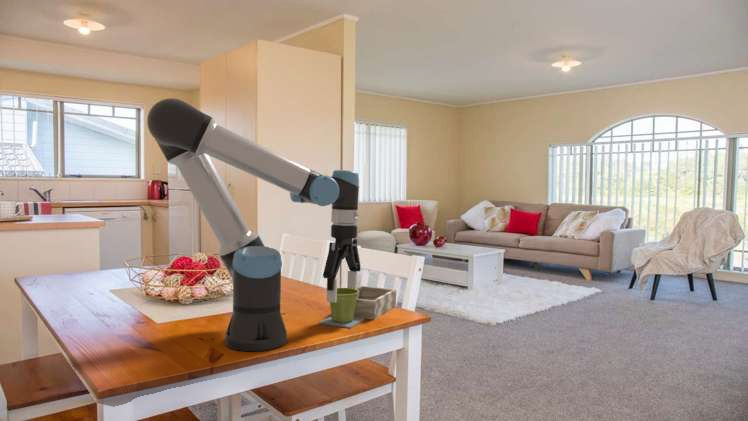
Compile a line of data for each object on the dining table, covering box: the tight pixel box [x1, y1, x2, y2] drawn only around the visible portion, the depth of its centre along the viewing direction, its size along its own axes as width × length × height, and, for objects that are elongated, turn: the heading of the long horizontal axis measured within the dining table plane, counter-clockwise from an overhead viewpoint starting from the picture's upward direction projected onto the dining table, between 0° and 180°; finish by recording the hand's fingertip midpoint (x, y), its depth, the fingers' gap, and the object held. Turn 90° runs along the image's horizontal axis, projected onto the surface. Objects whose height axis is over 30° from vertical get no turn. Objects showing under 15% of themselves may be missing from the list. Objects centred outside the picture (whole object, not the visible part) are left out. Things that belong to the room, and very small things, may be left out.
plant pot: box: [329, 287, 359, 323], centre depth 153 cm, size 9×9×9 cm
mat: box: [318, 316, 366, 329], centre depth 153 cm, size 10×10×1 cm
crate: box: [353, 285, 397, 320], centre depth 167 cm, size 19×13×6 cm
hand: (341, 297), depth 153 cm, fingers open, 13 cm apart
